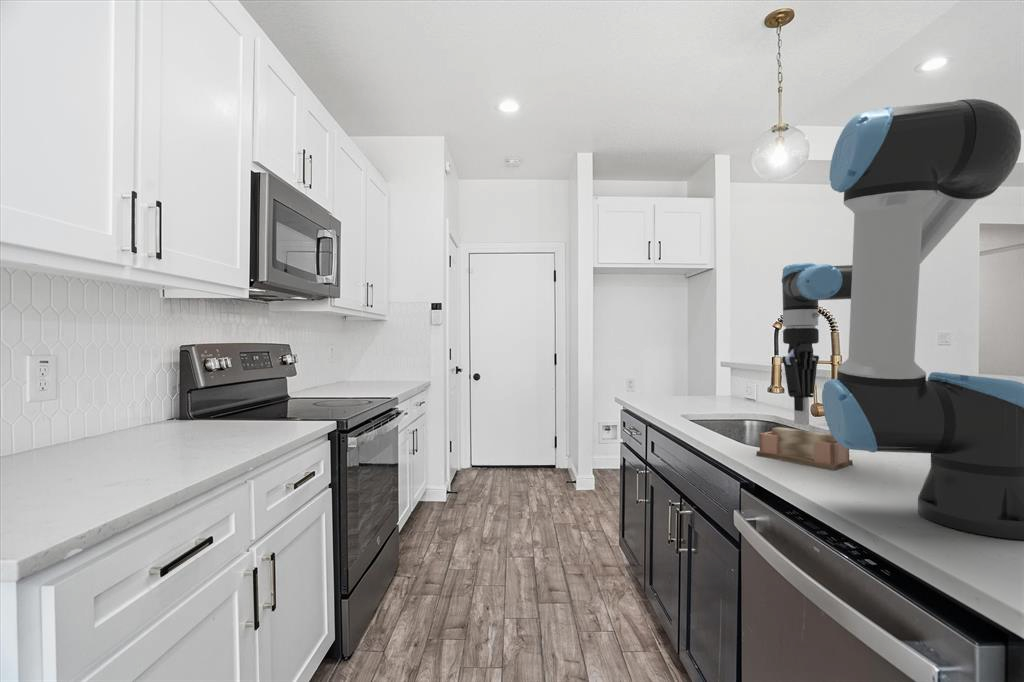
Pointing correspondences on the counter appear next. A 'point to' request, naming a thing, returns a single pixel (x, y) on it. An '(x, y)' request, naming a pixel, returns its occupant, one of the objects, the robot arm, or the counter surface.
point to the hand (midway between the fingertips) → (801, 423)
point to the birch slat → (800, 441)
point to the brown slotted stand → (821, 449)
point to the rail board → (803, 460)
